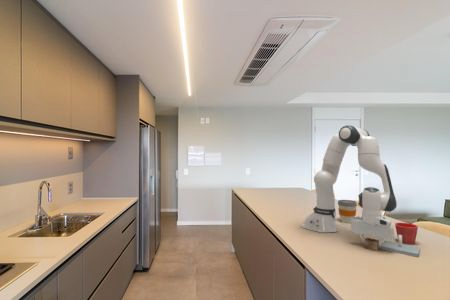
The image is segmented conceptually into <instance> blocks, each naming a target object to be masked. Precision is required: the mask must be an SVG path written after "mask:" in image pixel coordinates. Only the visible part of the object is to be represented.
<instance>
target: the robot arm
mask: <svg viewBox="0 0 450 300" xmlns="http://www.w3.org/2000/svg"><path fill="white" fill-rule="evenodd" d="M350 146H352V147H356V148H357V161H358V165H359V166H360V167H361V168H362V169H363V170H365V171H368V172H371V173H374V174H375V175H377V176H378V177H379V178H380V179H381V183H382V186H383V187H382V188H383V192H381V191H380V189H378V188H376V187H373V186H371V187H370V186H368V187H364V188H363V190H362V192H361V193H359V194H358V195H357V196H358V203H357V205H358V206H359V207H360V208H361V209H362V212H361V215H362V216H357V215H356V216H353V218H352V217H351V219H350V221H351V223H350V232H351V234H357V235H359V238H360V240H361V244H364V240H365V239H366V238H364V237H363V236H368V237H370V238H371V237H373V238H377V239H379V242H378V246H379V248H380V247H381V244H382V243H383V242H384V240H386V241H393V240H394V239H395V231H394V227H393V225H392V219H390V218H388V217H386V216H384V215H382V212H388V213H390V212H392V211H395V209H397V205H398V204H397V203H398V202H397V199H396V196H395V192H394V189H393V185H392V179H391V176H390V172H389V168H388V167H387V164H385V163H383V162H382V160H381V156H380V155H381V154H380V147H379V142H378V139H377V138H376V137H375V136H370V133H369V132H368V131H367V130H365V129H364V128H361V127H359V126H355V125H354V126H353V125H344V126H342V127H341V128H340V129H339V131H338V133H335V134H334V135H333V136H332V138H331V140H330V141H329V143H328V146H327V148H326V151H325V153H324V155H323V159H322V161H323V162H322V166H321V170H320V171H319V170H318V171H317V172H316V173H315V175H314V177H313V182H314V187H315V193H316V206H315V207H313V209H312V210H313V212H312V213H310V214H309V215H308V216H306V218H304V219H305V220H304V223H302V224H301V228H303V229H306V230H309V231H314V232H318V233H336V232H338V229H337V228H338V227H337V223H336V205H335V203H336V197H335V193H334V192H335V191H334V185H335V184H336V182H337V180H338V177H339V173H340V170H341V169H340V168H341V165H342V162H343V159H344V157H345V154H346V152H347V150H348V149H347V148H348V147H350Z"/></svg>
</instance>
